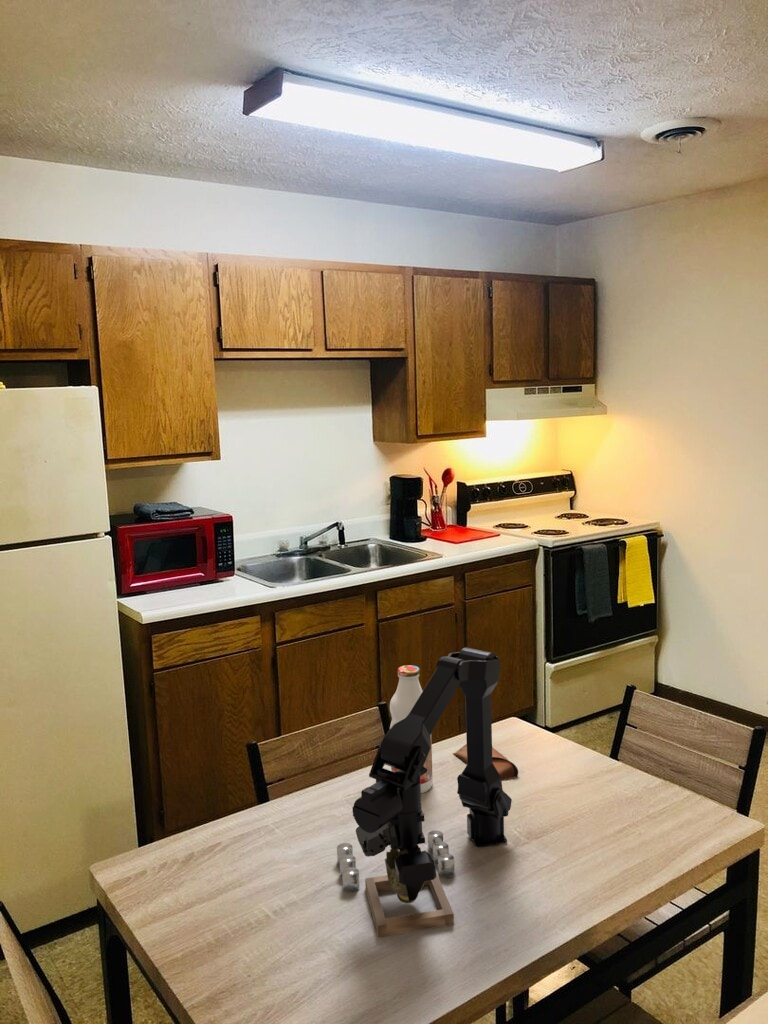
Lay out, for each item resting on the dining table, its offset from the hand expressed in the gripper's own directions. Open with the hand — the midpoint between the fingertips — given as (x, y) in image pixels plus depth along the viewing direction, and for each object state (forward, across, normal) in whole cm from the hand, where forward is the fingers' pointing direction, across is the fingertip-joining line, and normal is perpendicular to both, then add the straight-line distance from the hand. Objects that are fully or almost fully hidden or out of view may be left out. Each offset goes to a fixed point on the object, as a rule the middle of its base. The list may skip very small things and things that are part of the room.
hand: (407, 887), depth 135 cm
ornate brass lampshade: (+2, 0, 0) cm, 2 cm away
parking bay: (+3, 0, 0) cm, 3 cm away
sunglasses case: (+4, -46, +29) cm, 55 cm away
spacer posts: (+4, -11, 0) cm, 12 cm away
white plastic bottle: (+4, -41, +10) cm, 42 cm away
